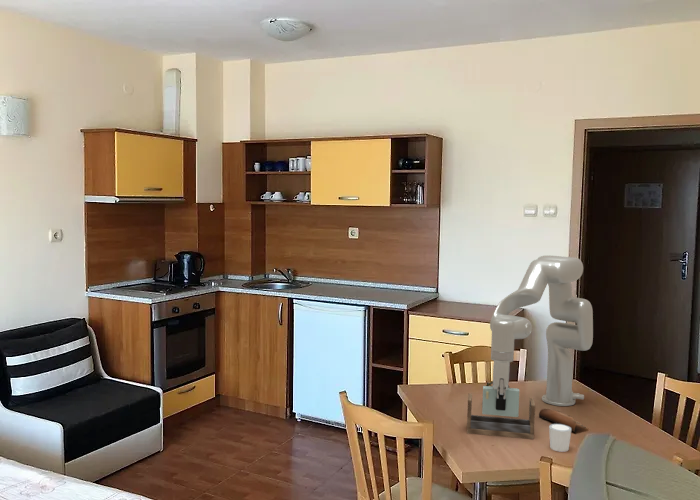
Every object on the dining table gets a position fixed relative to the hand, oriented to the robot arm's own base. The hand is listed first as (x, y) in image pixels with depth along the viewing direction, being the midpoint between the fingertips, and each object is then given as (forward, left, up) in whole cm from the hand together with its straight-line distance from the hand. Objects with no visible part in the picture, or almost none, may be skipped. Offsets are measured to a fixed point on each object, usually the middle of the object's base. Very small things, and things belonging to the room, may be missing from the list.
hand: (500, 407), depth 215 cm
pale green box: (0, 0, -2) cm, 2 cm away
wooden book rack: (0, 0, -9) cm, 9 cm away
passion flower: (0, -29, -9) cm, 30 cm away
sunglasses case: (-23, -14, -9) cm, 28 cm away
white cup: (-19, +10, -9) cm, 23 cm away
